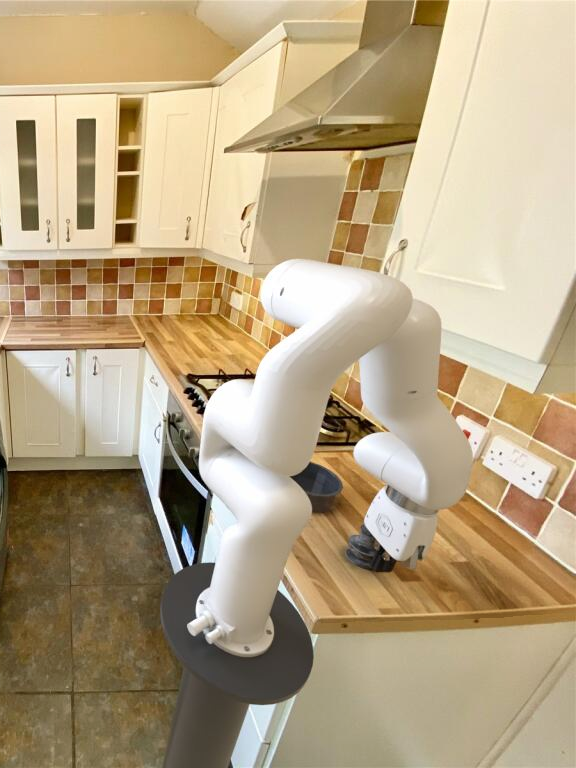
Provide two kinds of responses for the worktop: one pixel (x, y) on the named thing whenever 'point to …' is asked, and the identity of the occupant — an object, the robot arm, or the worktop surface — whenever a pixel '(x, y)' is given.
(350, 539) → the dark grey chess piece
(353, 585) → the worktop surface
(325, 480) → the dark grey bowl
